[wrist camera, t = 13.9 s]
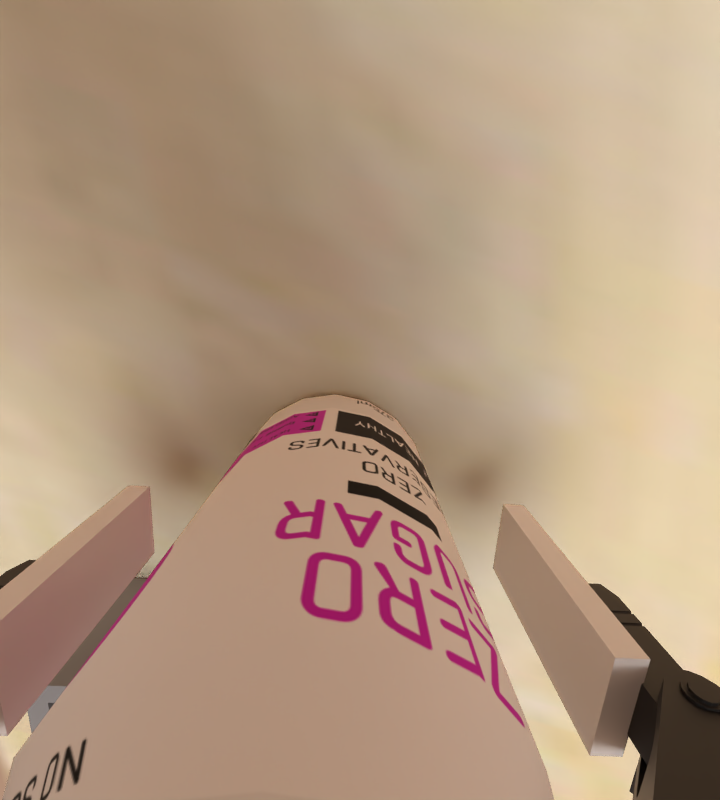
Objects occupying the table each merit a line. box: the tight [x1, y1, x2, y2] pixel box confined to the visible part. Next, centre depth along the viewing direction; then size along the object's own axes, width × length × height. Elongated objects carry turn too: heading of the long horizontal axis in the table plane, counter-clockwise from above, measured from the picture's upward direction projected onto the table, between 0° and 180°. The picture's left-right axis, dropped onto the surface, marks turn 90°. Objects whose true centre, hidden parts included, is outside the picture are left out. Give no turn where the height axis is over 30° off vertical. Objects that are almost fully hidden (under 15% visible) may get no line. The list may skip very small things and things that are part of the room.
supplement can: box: [2, 394, 554, 800], centre depth 12 cm, size 8×8×15 cm
